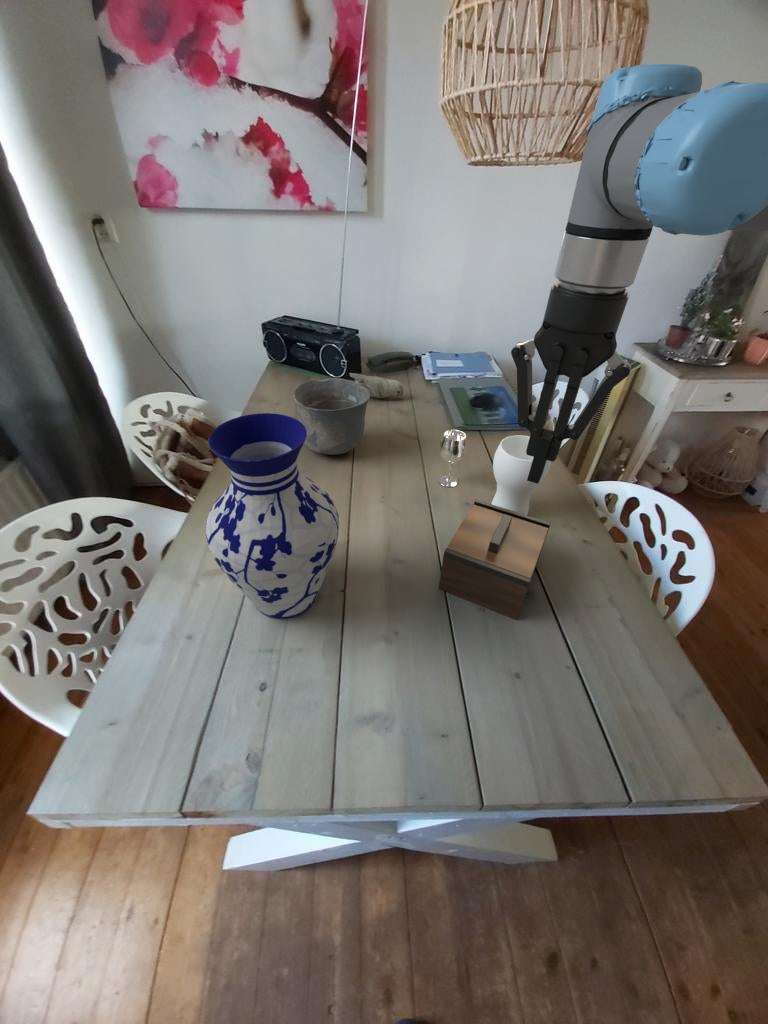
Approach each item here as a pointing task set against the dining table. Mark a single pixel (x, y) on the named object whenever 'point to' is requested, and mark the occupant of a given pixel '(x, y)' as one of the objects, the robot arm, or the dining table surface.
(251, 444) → the vase
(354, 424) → the bowl
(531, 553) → the sliding lid
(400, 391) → the decorative bird
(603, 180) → the robot arm
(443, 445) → the wineglass
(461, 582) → the box
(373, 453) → the dining table surface
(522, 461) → the cup
